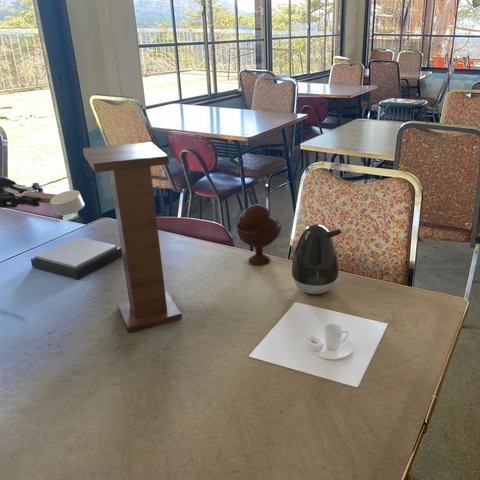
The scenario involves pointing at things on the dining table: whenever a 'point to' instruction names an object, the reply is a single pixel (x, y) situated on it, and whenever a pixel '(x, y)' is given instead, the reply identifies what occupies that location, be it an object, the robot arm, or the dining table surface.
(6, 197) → the robot arm
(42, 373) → the dining table surface
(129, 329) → the wooden lectern stand
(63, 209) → the white handled cylinder
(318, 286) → the pump dispenser
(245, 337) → the dining table surface
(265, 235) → the ice cream bowl
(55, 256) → the scale
